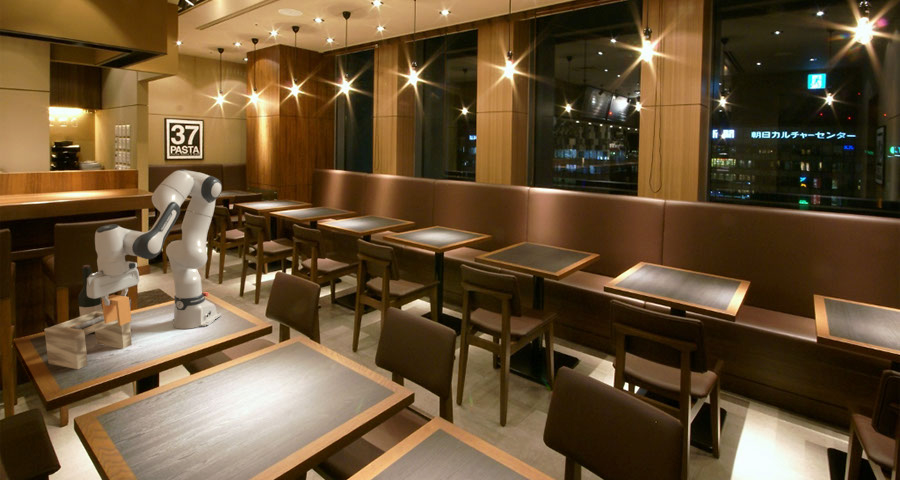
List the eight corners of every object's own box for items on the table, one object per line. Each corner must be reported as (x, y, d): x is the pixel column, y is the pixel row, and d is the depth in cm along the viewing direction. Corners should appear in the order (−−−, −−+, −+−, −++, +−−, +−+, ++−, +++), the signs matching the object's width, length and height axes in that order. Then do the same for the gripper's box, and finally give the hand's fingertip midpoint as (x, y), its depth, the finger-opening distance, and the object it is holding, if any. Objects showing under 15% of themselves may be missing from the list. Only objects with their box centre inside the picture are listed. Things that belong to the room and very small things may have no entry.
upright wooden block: (115, 318, 200) (113, 294, 198) (131, 321, 198) (128, 296, 196) (104, 323, 195) (101, 298, 193) (120, 325, 194) (117, 300, 192)
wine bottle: (99, 326, 230) (93, 262, 224) (107, 330, 226) (101, 265, 220) (78, 331, 224) (71, 265, 218) (85, 336, 219) (78, 269, 213)
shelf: (104, 340, 216) (101, 309, 213) (131, 344, 213) (129, 313, 210) (48, 363, 193) (44, 329, 190) (77, 369, 190) (74, 334, 187)
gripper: (93, 275, 182) (98, 312, 185) (140, 262, 201) (144, 295, 204) (79, 274, 183) (84, 310, 186) (127, 260, 202) (131, 293, 205)
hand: (115, 302), depth 195 cm, fingers closed on upright wooden block, 5 cm apart
